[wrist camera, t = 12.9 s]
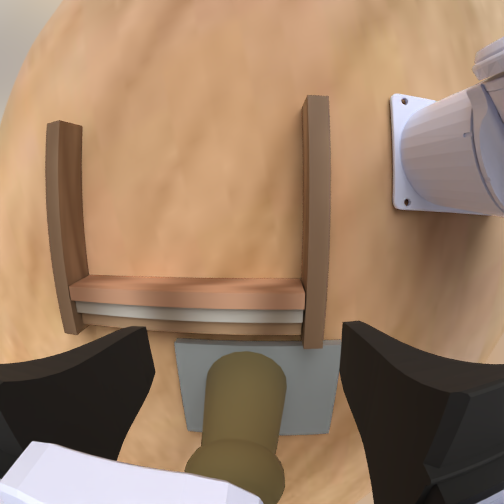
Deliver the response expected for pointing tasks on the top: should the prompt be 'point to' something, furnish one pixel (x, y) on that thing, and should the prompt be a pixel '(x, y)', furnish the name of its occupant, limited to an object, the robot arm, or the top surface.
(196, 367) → the slate tile
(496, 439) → the robot arm
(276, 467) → the olive brown pear shape
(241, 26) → the top surface
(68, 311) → the offcut rack
